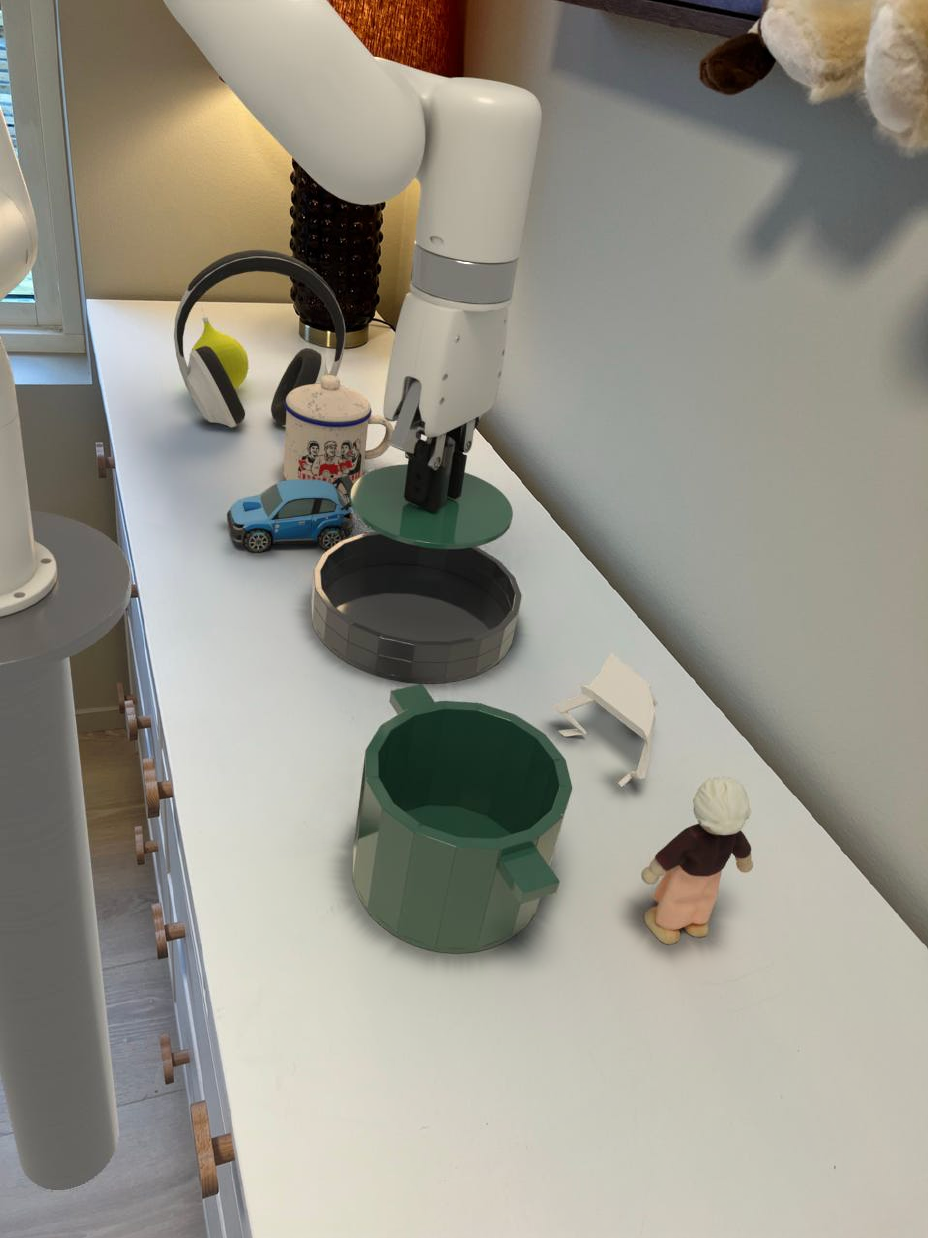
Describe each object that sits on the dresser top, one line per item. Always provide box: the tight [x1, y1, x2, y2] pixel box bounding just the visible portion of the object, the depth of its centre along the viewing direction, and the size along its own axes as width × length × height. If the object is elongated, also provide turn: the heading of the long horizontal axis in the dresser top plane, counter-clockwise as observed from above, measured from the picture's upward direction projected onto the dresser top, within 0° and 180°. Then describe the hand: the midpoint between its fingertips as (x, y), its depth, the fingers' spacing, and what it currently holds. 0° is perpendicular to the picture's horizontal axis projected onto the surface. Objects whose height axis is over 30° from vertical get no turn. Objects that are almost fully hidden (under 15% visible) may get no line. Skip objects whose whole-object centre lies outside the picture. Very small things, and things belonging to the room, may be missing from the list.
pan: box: [310, 531, 523, 684], centre depth 87 cm, size 18×18×4 cm
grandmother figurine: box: [640, 776, 754, 945], centre depth 60 cm, size 8×4×13 cm, turn 118°
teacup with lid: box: [283, 375, 394, 495], centre depth 104 cm, size 12×9×12 cm
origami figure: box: [551, 651, 659, 788], centre depth 76 cm, size 12×8×5 cm
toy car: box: [226, 475, 356, 553], centre depth 95 cm, size 6×12×6 cm, turn 108°
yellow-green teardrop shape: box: [190, 306, 249, 390], centre depth 119 cm, size 7×7×10 cm
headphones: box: [173, 249, 346, 428], centre depth 111 cm, size 19×8×20 cm, turn 110°
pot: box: [352, 683, 573, 954], centre depth 62 cm, size 13×18×10 cm
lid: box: [349, 436, 514, 549], centre depth 80 cm, size 14×14×7 cm
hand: (432, 497), depth 81 cm, fingers closed on lid, 2 cm apart
